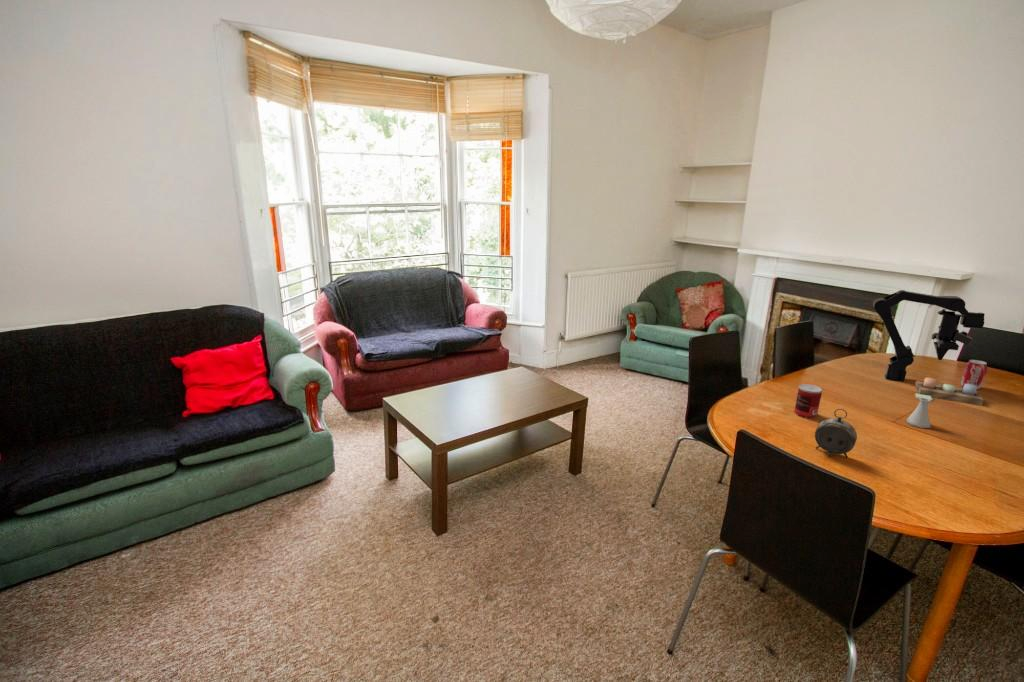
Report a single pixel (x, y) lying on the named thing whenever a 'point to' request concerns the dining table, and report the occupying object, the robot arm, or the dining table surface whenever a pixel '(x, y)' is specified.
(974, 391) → the grey rounded piece
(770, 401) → the dining table surface
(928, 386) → the terracotta button
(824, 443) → the alarm clock
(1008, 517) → the dining table surface
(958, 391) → the button board
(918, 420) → the flask
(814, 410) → the canned food
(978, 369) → the soda can
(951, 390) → the sage button
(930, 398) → the chip
